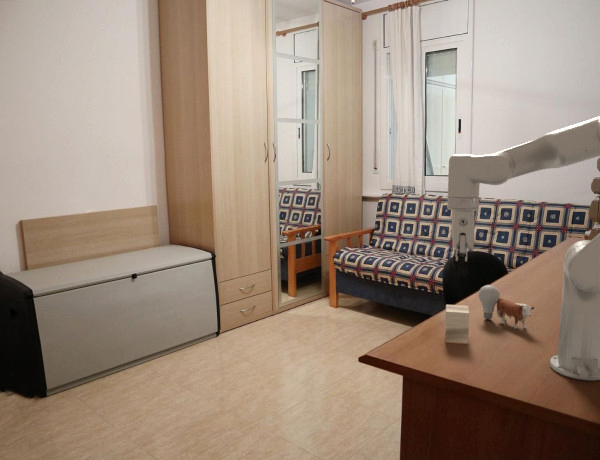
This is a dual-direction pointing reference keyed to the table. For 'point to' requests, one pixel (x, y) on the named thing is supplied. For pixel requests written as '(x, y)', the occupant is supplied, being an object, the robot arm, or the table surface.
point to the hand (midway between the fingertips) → (460, 272)
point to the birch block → (457, 324)
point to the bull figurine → (513, 311)
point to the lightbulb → (488, 300)
